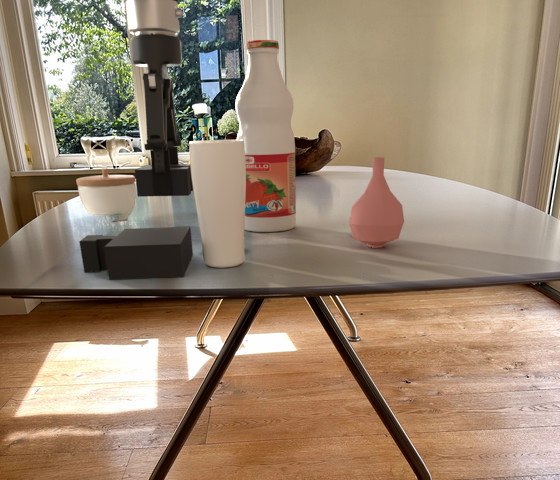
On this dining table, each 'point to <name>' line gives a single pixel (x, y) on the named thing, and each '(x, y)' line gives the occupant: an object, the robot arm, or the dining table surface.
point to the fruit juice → (267, 141)
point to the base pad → (139, 253)
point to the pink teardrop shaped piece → (376, 211)
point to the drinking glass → (220, 199)
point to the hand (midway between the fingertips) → (168, 190)
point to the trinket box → (108, 194)
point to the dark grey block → (178, 178)
